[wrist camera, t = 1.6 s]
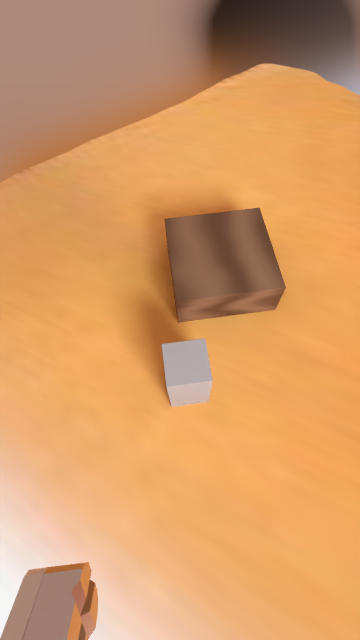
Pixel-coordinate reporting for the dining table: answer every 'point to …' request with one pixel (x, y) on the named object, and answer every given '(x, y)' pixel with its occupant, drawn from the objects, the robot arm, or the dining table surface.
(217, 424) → the dining table surface
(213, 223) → the walnut slab
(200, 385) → the slate block
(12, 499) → the dining table surface
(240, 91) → the dining table surface
